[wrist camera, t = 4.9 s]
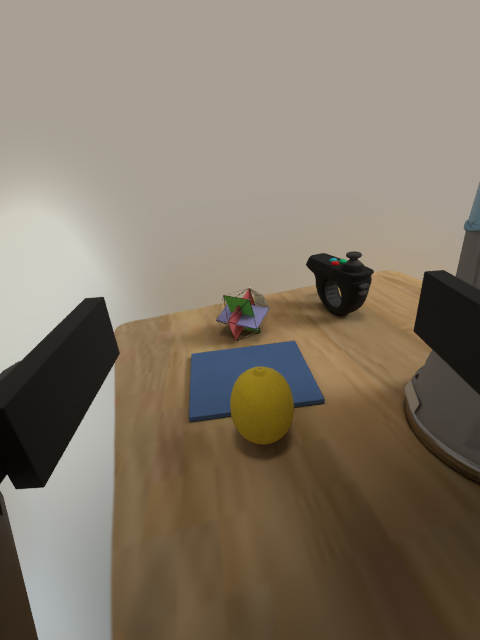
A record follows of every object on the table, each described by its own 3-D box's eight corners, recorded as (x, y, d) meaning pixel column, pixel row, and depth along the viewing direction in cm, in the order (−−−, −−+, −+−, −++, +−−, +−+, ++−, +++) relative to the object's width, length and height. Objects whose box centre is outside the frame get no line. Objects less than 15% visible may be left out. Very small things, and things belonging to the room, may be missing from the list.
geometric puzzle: (245, 343, 42) (260, 283, 43) (202, 332, 45) (216, 277, 46) (266, 349, 48) (279, 297, 49) (227, 340, 51) (240, 291, 52)
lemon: (304, 452, 29) (305, 379, 25) (244, 472, 28) (236, 398, 24) (279, 411, 34) (277, 344, 30) (227, 426, 32) (218, 358, 29)
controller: (349, 328, 47) (355, 261, 43) (302, 299, 58) (303, 242, 53) (373, 320, 49) (380, 255, 44) (323, 293, 59) (325, 238, 55)
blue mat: (294, 344, 45) (294, 340, 44) (324, 403, 34) (324, 398, 34) (192, 357, 44) (191, 353, 44) (189, 422, 33) (188, 417, 33)
